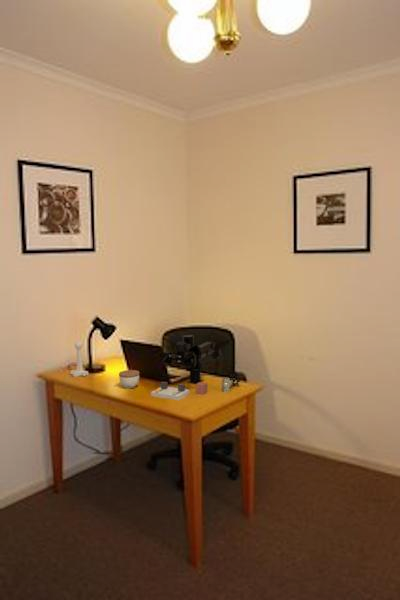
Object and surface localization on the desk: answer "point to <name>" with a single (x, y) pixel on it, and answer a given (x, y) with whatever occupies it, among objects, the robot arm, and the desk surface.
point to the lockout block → (201, 388)
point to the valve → (229, 383)
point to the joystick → (79, 362)
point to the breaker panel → (170, 393)
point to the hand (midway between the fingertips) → (170, 362)
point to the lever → (181, 387)
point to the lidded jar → (129, 378)
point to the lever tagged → (164, 385)
